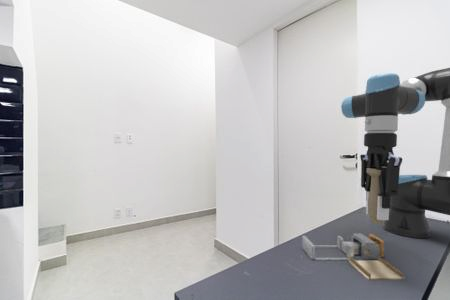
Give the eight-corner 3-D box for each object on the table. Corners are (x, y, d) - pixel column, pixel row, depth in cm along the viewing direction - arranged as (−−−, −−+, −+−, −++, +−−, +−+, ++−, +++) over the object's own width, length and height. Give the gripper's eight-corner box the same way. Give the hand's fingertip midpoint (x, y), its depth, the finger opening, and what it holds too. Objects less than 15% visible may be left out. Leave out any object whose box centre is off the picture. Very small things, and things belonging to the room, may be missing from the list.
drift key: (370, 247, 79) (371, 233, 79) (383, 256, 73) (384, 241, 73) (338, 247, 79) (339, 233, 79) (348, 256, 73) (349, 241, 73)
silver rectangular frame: (338, 246, 80) (339, 235, 80) (354, 260, 71) (355, 247, 71) (301, 246, 80) (301, 235, 80) (312, 260, 71) (312, 247, 71)
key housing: (364, 248, 80) (365, 233, 80) (379, 258, 73) (380, 242, 72) (350, 248, 80) (351, 233, 79) (363, 258, 72) (364, 242, 72)
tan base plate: (380, 261, 71) (381, 256, 71) (404, 279, 62) (405, 273, 62) (348, 261, 70) (348, 256, 70) (367, 279, 61) (367, 273, 61)
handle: (392, 223, 65) (395, 169, 64) (377, 227, 62) (380, 170, 61) (375, 218, 69) (377, 167, 69) (360, 221, 66) (362, 168, 66)
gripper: (349, 133, 73) (346, 208, 74) (389, 131, 56) (385, 228, 57) (373, 133, 73) (369, 208, 74) (420, 131, 56) (415, 228, 57)
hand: (376, 216), depth 65 cm, fingers closed on handle, 4 cm apart
